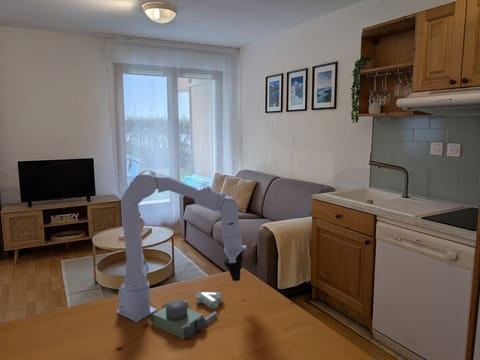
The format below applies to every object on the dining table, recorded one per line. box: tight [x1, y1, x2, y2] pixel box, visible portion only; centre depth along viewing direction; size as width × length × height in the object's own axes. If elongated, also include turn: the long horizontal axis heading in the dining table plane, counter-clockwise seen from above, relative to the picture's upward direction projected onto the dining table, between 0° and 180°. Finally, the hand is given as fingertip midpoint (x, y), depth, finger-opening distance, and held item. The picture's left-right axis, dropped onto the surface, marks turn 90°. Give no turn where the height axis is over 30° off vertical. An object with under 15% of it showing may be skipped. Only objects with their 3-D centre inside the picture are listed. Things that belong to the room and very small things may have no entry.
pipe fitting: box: [195, 291, 223, 311], centre depth 114 cm, size 8×4×7 cm
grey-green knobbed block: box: [149, 299, 218, 340], centre depth 105 cm, size 14×14×6 cm
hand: (237, 274), depth 113 cm, fingers open, 7 cm apart
